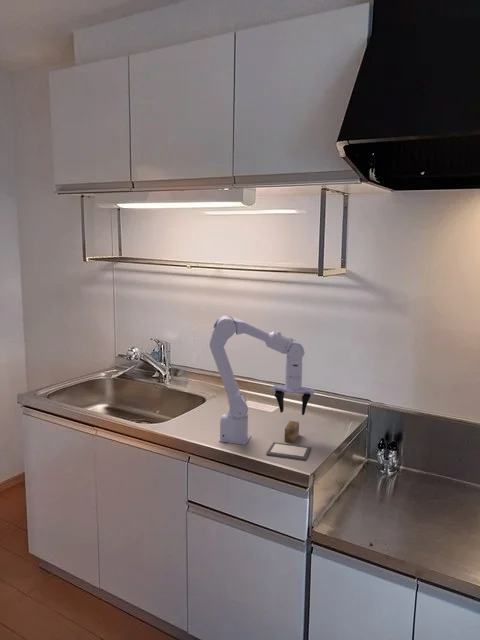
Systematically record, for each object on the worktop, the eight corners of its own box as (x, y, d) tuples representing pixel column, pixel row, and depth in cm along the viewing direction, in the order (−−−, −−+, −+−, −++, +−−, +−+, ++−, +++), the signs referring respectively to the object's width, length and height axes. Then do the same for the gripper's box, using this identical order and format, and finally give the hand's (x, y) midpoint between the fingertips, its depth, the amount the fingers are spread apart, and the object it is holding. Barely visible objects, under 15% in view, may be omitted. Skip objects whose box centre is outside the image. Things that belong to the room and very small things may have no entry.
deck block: (284, 442, 180) (284, 428, 179) (289, 434, 187) (289, 420, 187) (294, 443, 179) (294, 429, 178) (298, 435, 186) (299, 421, 186)
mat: (266, 455, 168) (266, 453, 168) (273, 443, 178) (273, 441, 178) (305, 460, 165) (305, 458, 165) (310, 448, 174) (310, 446, 174)
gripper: (270, 376, 178) (269, 414, 180) (312, 380, 173) (311, 418, 176) (275, 371, 184) (274, 407, 186) (315, 375, 180) (314, 412, 182)
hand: (292, 412), depth 181 cm, fingers open, 7 cm apart
